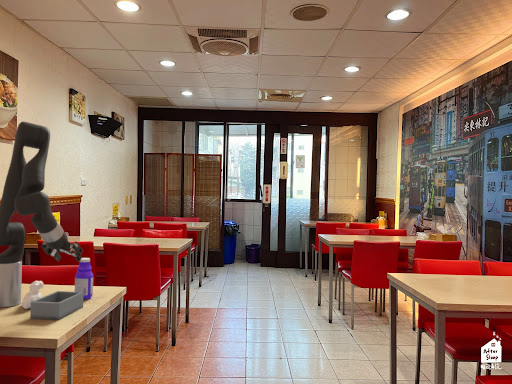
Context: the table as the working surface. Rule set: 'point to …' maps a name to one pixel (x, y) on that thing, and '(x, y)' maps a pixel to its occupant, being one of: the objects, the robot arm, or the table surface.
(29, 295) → the bust
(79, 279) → the bottle
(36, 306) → the tote
